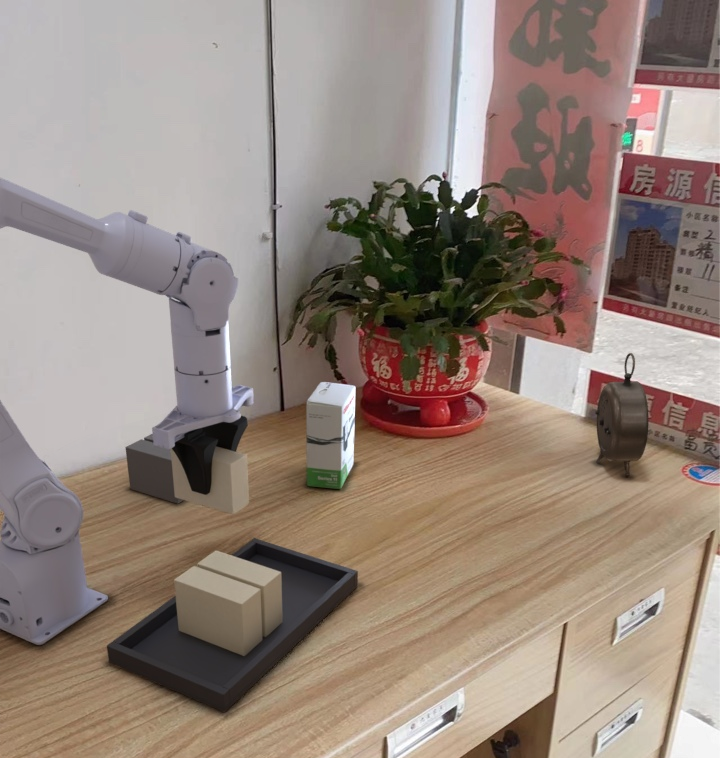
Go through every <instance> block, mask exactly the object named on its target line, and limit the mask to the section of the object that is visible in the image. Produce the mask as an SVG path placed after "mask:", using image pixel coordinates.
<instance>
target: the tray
mask: <svg viewBox="0 0 720 758" xmlns="http://www.w3.org/2000/svg"><path fill="white" fill-rule="evenodd" d="M231 555H232V556H235V557H238V558H241V559H244V560H247V561H250V562H253V563H256V564H258V565H261V566H264V567H267V568H270V569H273V570H276V571H279V572H281V582H282V621H283V622H282V623H281V624H280V625H279V626H278V627H277V628H276V629H274V630H273V631H272V632H271V633H270V634H269V635H268V636H267V637H264V636H262V641H261V642H260V643H259V644H258V645H257V646H255V647H254V648H253V649H252V650H251V651H250V652H249V653H248V654H247V655H245V656H242V655H240V654H237V653H235V652H232V651H230V650H227V649H225V648H222V647H219V646H217V645H214V644H212V643H209V642H207V641H204V640H201V639H199V638H196V637H194V636H191V635H189V634H186V633H184V632H181V631H179V627H178V616H177V606H176V595H174V596H172V597H171V598H170V599H169V600H167V601H166V602H164V604H161V606H159V607H157V609H155V610H153V611H152V612H151V613H149V614H148V615H146V617H143V618H142V619H141V620H140V621H138V622H136V624H134V625H133V626H132V627H130V628H129V629H127V630H126V631H125V632H123V633H122V634H121V635H119V636H117V637H116V638H115V639H114V640H112V641H111V642H110V643H109V644H107V645H106V652H107V659H108V663H109V664H112V665H113V666H116V667H118V668H120V669H123V670H125V671H127V672H130V673H133V674H134V675H137V676H139V677H141V678H143V679H146V680H149V681H151V682H153V683H155V684H158V685H159V686H162V687H165V688H167V689H169V690H172V691H174V692H177V693H179V694H182V695H184V696H186V697H188V698H191V699H193V700H195V701H198V702H200V703H202V704H205V705H206V706H209V707H211V708H214V709H216V710H218V711H221V712H222V713H223V712H224V713H226V712H227V711H228V710H229V709H230V708H231V707H232V706H233V705H235V703H236V702H237V701H239V700H240V699H241V697H243V696H244V695H245V694H246V693H247V692H248V691H249V690H250V689H251V688H252V687H253V686H254V685H256V684H257V682H258V681H260V680H261V679H262V678H263V676H265V675H266V674H267V673H268V672H270V670H271V669H272V668H273V667H274V666H275V665H276V664H277V663H278V662H279V661H281V660H282V659H283V658H284V657H285V656H286V655H287V654H288V653H289V652H290V651H291V650H292V649H294V647H296V645H298V644H299V643H300V642H301V641H302V640H303V639H304V638H305V637H306V636H307V635H308V634H309V633H310V632H311V631H312V630H314V628H315V627H316V626H317V625H319V623H320V622H322V621H323V620H324V619H325V618H326V617H327V616H328V615H329V614H330V613H331V612H332V611H333V610H335V608H336V607H338V605H339V604H341V603H342V602H343V601H344V600H346V598H347V597H348V596H349V595H350V594H351V593H353V591H355V589H356V588H358V586H359V585H358V584H359V583H358V581H359V571H358V570H357V569H353V568H350V567H346V566H344V565H340V564H337V563H334V562H331V561H327V560H325V559H321V558H318V557H315V556H312V555H309V554H306V553H304V552H303V553H302V552H300V551H297V550H293V549H290V548H288V547H284V546H281V545H278V544H274V543H271V542H268V541H266V540H262V539H260V538H255V537H253V538H252V539H251V540H249V541H248V542H247V543H245V544H244V545H243V546H241V547H240V548H239V549H237V550H236V551H234V552H233V553H232V554H231Z"/></svg>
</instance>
